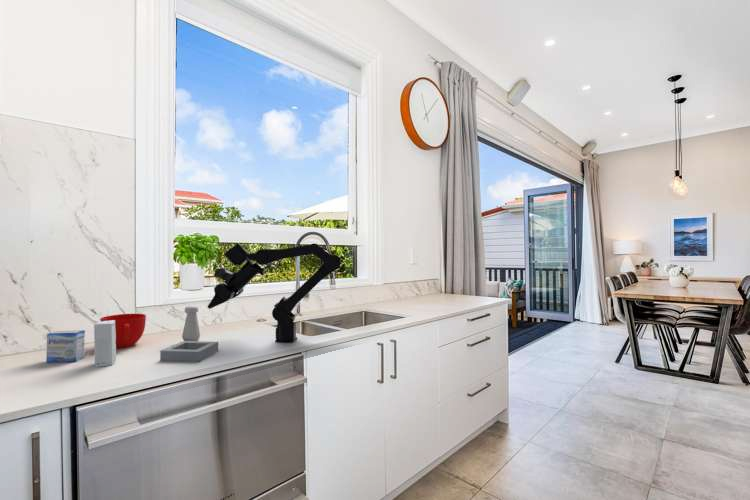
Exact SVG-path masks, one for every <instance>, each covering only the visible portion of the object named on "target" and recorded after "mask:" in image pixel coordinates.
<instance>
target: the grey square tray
mask: <svg viewBox="0 0 750 500" xmlns="http://www.w3.org/2000/svg"><path fill="white" fill-rule="evenodd" d="M217 352H219V341H199V340H198V341H184V340H182V341H179V342H178V343H175V344H173V345H171V346H168V347H166V348H163V349H161V350H160V351H159V353H160V355H159V358H160V360H159V361H160V362H187V361H188V363H189V362H190V363H194V362H196V363H199V362H201V361H203V360H205V359H206V358H208V357H210V356H212V355H213V354H215V353H217Z"/></svg>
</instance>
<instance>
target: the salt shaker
mask: <svg viewBox="0 0 750 500" xmlns="http://www.w3.org/2000/svg"><path fill="white" fill-rule="evenodd" d="M184 313H185V314H186V317H185V320H184V321H185V322H184V326H183V331H182V335H181V337H182V339H183V340H182V341H199V339H200V338H201V330H200V326H199V320H198V316H197V315H198V314H197V313H199V307H198V306H197V305H187V306H185V308H184Z"/></svg>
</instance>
